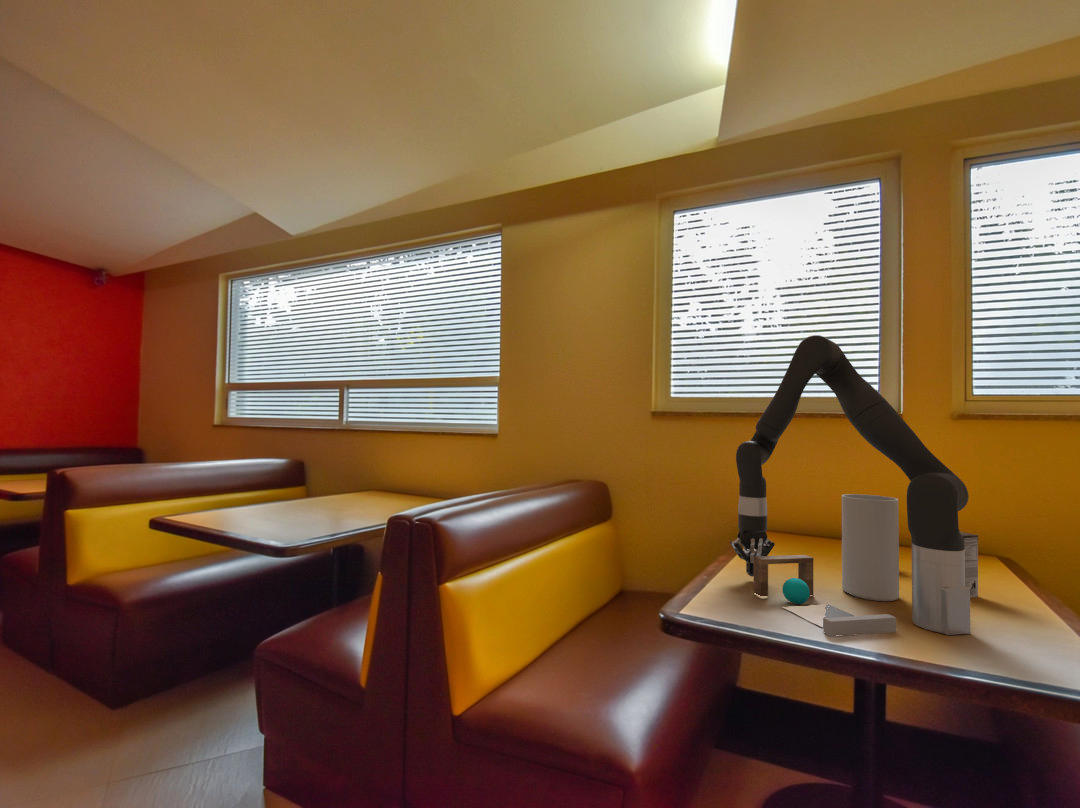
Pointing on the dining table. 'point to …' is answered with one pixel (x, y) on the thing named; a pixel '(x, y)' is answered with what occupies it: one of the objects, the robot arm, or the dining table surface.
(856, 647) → the dining table surface
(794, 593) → the ball
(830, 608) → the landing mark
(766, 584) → the bridge
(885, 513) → the cylinder vase
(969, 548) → the coffee box
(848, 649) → the dining table surface
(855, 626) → the stopper wall
